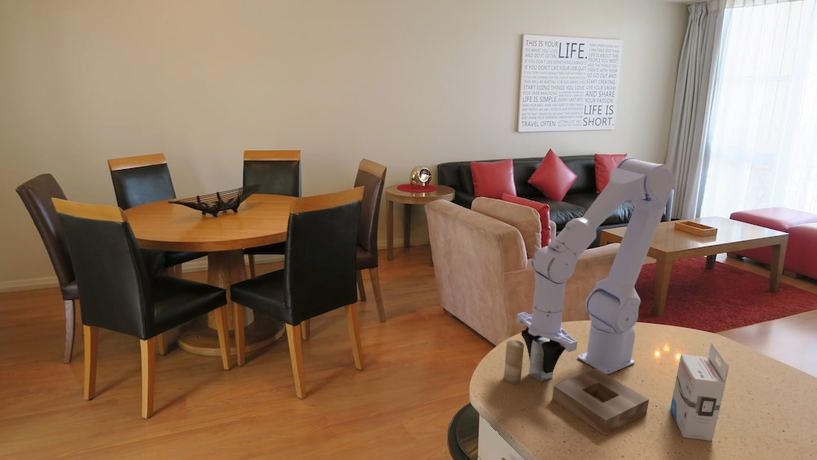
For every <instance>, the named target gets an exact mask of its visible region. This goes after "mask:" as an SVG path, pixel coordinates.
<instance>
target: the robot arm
mask: <svg viewBox="0 0 817 460" xmlns="http://www.w3.org/2000/svg"><path fill="white" fill-rule="evenodd" d="M609 176H610V177H609V182H608V183H607V184H606V186H605V187H604V188H603V189H602V191H601V192H600V193H599V194H598V196H597V197H596V199H595V200H594V201H593V203H592V204H591V205H590V207H589V208H588V209H587V210H586V212H585V213H584V215H583V216H582V217H577V218H572V219H571V220H570V221H568V222H566V224H565V227H564V228H563V229H562V230H561V231H560V232H559V233H558V235H557V236H556V237H555V238H554V239H553V240H552V241H551V242H550V243H549V244H548V245H547V246H544V247H540V248H539V249H538V250H536V251H535V253H534V255H533V258H532V259H531V260H530V267H531V268H532V270H533V271H534V278H533V279H534V281H535V283H534V291H533V293H534V295H533V305H532V314H530V313H527V312H525V311H523V312H519V313H517V314H516V323H518V324H521V325H522V324H523V325H524V326H526V328H525V329H523V330H521V337H522V338H523V340H524V343H525V345H526V349H527V353H528V357H529V358H528V359H529V361H530V357H531V347H532V339H535V338H538V337H541V336H542V337H545V338H548V339H550V341H547V342H544V343H542V348H543V352H544V372H545V373H546V374H547V373H550V372H552V371H553V372H554V371H555V368H556V365H557V363H558V361H559V359H560V357H561V356H562V354H563V353H564V351H566V352H567V353H571V352H574V351H576V350H577V348H578V347H577V346H578V340H576V338H573V337H572V336H571V335H570V334H569V333H568V331H566V330H565V329H564V328H563V327H562V317H563V310H564V300H565V294H566V283H567V281H568V280H569V279H570V278H571V277H573V275H574V273H575V270H576V265H577V263H578V261H579V257H580V256H582V254H583V253H584V252H585V251H586V250H587V248H589V247H590V245H591V244H592V243H594V241H595V240H596V238H597V228H599V226H600V225H601V224H603V223H604V222H605V221H606V219H608V218H609V217H610V216H611V215H612V214H613V213H614V212H615V211H616V210H617V209H619V208H620V206H621V205H622V204H624V203H625V202H627V201H628V202H629V201H630V202H631V204H632V205H633V211H632V213H631V216H630V219H629V222H628V223H627V224H628V225H627V227H626V229H625V232H624V233H623V234H624V235H623V236H622V239H621V241H620V245H619V246H618V250H617V253H616V255H615V257H614V259H613V263H612V264H611V265H612V266H611V268H610V270H609V273H608V275H607V277H606V278H604V279H601V280H598V281H596V283H595V285H594V287H593V289H592V290H591V292H590V293H589V294H588V295H587V297H586V300H585V303H584V307H585V311H586V312H587V313H588V314H589V317H588V318H589V320H590V328H589V334H588V335H589V336H588V341H587V348H586V349H587V350H586V352H584V353H581V354H579V355H577V358H578V359H579V360H581V361H582V362H584V363H586V364H587V365H589V366H591V367H592V368H594V369H595V368H596V369H598V370H599V371H601V372H603V373H605V374H606V375H609V374H612V373H615V372H617V371H618V370H619V371H620V370H623V368H624V369H625V368H626V367H628V366H631V365H634V364H635V360H634V359H632V356H633V352H634V351H633V350H634V345H635V339H636V333H635V329H634V326H635V325H636V324H637V321H638V318H639V308H640V305H641V298H640V296H639V294H638V293H637V291H636V288H635V285H636V283H637V280H638V278H639V276H640V273H641V270H642V268H643V266H644V263H645V260H646V258H647V255H648V253H649V250H650V247H651V245H652V243H653V241H654V237H655V235H656V233H657V230H658V227H659V225H660V222H661V220H662V217H663V215H664V212H665V210H666V207H667V203H668V200H669V198H670V195H671V192H672V190H673V188H674V185H675V182H676V179H675V177H674V176H675V175H674V174H673V172H672V169H671V168H670V166H668V165H667V164H663V163H655V162H650V161H645V160H640V159H636V158H634V157H624V158H623V159H621V160H620V161H619V162H618V164H617V165H616V166H615V167H614V168H613V169H612V170H611V172H610V175H609Z"/></svg>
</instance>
